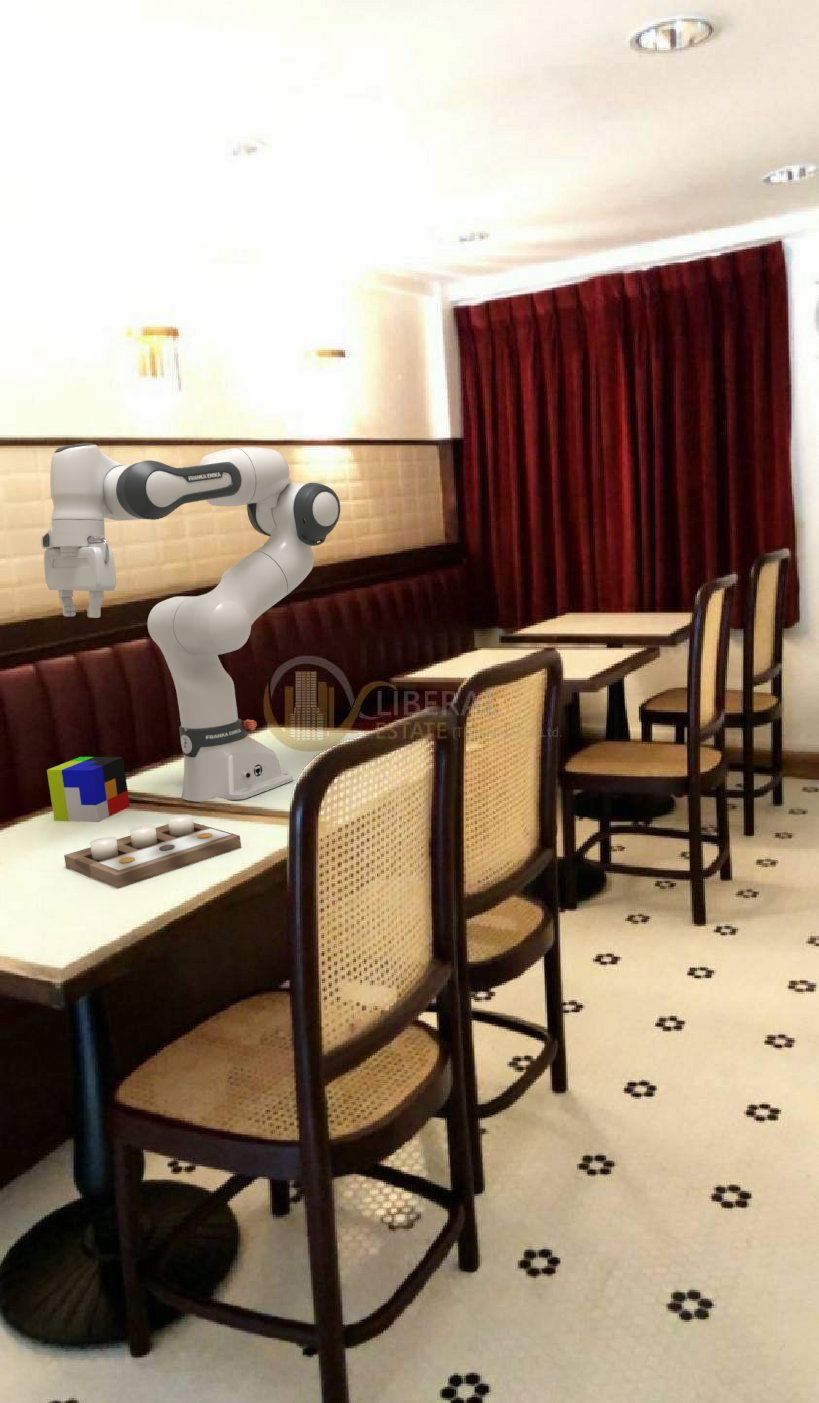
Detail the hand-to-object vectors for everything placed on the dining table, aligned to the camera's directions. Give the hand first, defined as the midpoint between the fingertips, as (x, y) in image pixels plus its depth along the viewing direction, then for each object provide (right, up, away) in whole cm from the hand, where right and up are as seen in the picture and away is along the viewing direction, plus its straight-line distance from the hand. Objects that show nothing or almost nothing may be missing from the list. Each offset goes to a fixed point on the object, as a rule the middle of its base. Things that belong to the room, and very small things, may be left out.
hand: (81, 616), depth 192 cm
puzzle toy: (-3, -37, +17) cm, 40 cm away
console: (+17, -41, -17) cm, 47 cm away
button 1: (+10, -39, -21) cm, 45 cm away
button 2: (+20, -37, -11) cm, 43 cm away
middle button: (+15, -38, -16) cm, 44 cm away
